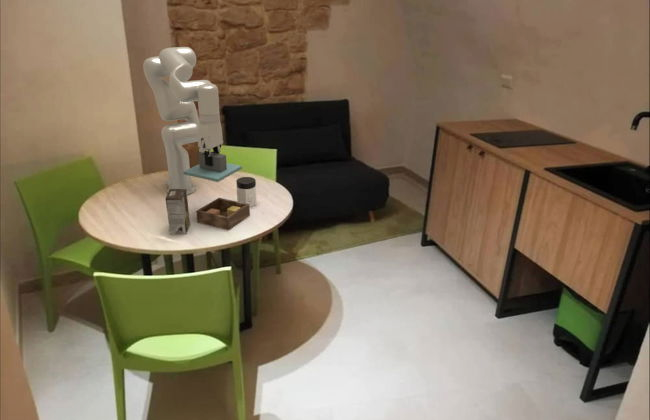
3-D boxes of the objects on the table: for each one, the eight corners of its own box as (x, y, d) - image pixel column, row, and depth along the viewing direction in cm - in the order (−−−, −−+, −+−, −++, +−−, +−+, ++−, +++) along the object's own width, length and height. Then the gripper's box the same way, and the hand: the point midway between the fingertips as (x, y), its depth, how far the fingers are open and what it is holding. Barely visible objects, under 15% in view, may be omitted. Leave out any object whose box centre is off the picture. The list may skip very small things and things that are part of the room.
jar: (241, 211, 208) (240, 185, 203) (233, 204, 214) (232, 179, 209) (260, 206, 212) (259, 181, 207) (252, 200, 218) (251, 175, 213)
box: (197, 224, 195) (196, 210, 193) (220, 210, 208) (219, 197, 205) (228, 232, 190) (227, 218, 187) (249, 217, 202) (249, 204, 200)
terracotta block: (206, 221, 196) (205, 212, 195) (212, 217, 200) (211, 208, 198) (214, 223, 195) (213, 214, 193) (220, 219, 198) (219, 210, 196)
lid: (183, 174, 190) (182, 156, 186) (209, 161, 203) (207, 145, 200) (218, 182, 184) (216, 164, 181) (241, 168, 197) (241, 151, 194)
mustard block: (227, 218, 199) (226, 209, 197) (233, 214, 202) (232, 205, 201) (235, 220, 197) (235, 211, 196) (241, 216, 201) (240, 207, 199)
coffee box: (174, 226, 194) (169, 188, 187) (190, 225, 194) (186, 188, 188) (169, 237, 185) (164, 198, 179) (186, 236, 186) (182, 197, 179)
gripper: (214, 111, 192) (217, 155, 200) (187, 121, 178) (191, 168, 186) (230, 114, 189) (233, 159, 197) (203, 124, 176) (207, 172, 184)
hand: (212, 163), depth 192 cm, fingers closed on lid, 4 cm apart
